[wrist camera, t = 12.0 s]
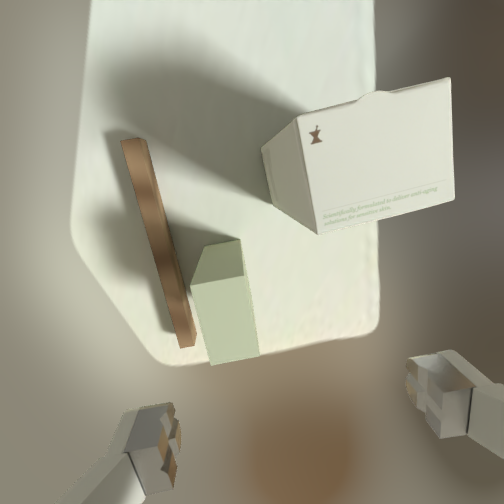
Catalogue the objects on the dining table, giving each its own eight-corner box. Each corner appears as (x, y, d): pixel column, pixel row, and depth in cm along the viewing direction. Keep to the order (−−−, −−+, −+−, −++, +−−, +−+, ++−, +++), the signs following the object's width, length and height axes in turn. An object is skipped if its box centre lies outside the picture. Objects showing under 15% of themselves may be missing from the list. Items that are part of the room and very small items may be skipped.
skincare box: (271, 206, 30) (309, 243, 15) (258, 142, 28) (285, 112, 13) (348, 187, 30) (460, 206, 15) (339, 121, 28) (457, 70, 13)
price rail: (128, 143, 28) (118, 141, 25) (145, 140, 28) (138, 137, 25) (182, 336, 34) (178, 348, 32) (196, 333, 34) (194, 345, 32)
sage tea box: (203, 246, 31) (188, 285, 20) (240, 239, 31) (244, 275, 21) (217, 302, 33) (209, 365, 23) (251, 296, 33) (260, 356, 23)
